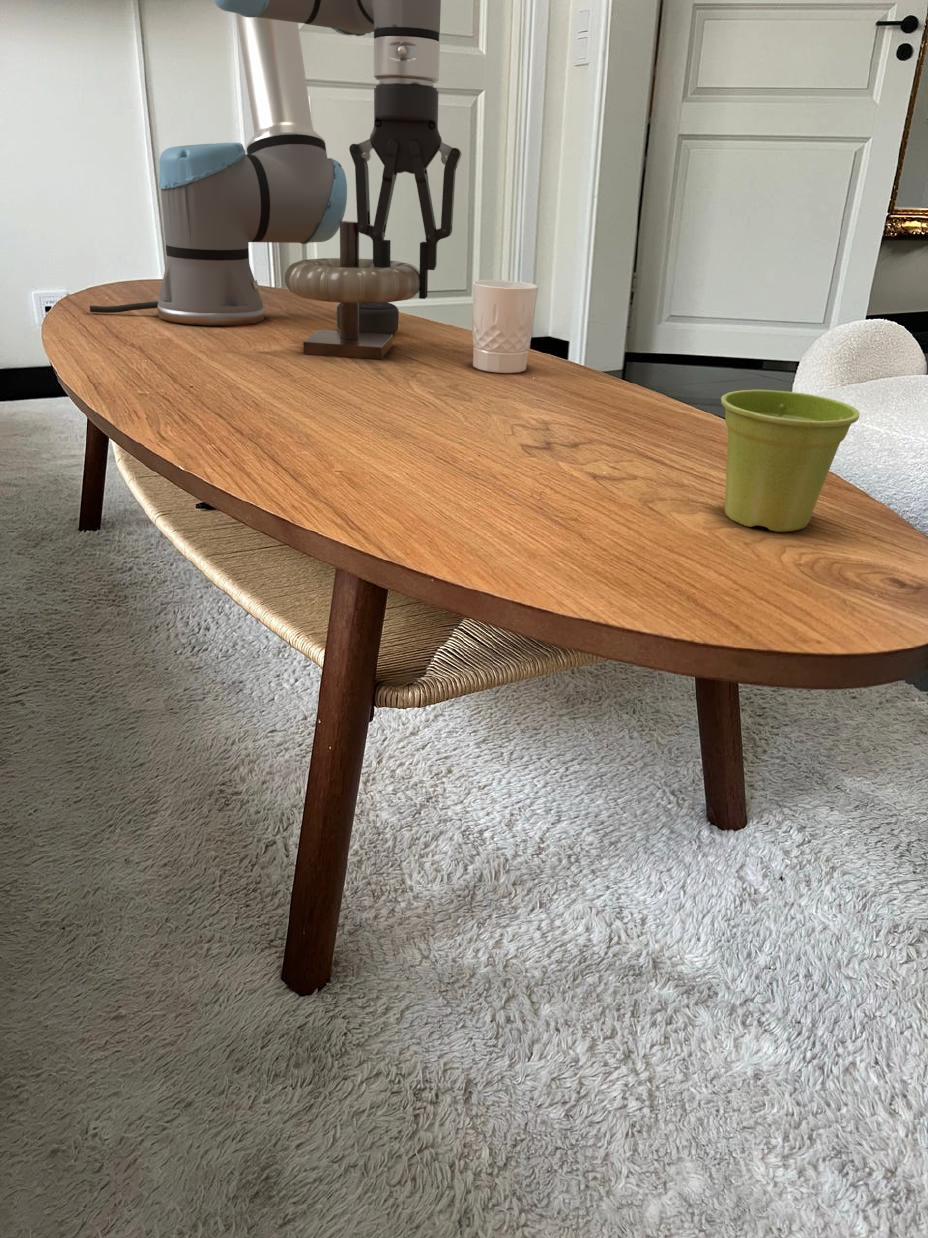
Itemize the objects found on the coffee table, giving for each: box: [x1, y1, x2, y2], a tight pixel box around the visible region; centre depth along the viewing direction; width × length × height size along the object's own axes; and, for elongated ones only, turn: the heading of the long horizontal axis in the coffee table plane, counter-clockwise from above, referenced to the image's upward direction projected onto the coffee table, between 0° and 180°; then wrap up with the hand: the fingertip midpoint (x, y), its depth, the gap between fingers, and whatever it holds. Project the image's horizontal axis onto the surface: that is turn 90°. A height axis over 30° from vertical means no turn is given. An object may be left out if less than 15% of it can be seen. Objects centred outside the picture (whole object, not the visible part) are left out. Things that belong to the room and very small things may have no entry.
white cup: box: [471, 279, 539, 374], centre depth 111 cm, size 8×8×10 cm
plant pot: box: [720, 389, 860, 533], centre depth 66 cm, size 9×9×9 cm
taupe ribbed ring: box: [284, 257, 420, 303], centre depth 115 cm, size 17×17×4 cm
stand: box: [302, 220, 394, 360], centre depth 115 cm, size 10×10×16 cm
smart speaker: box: [336, 302, 400, 335], centre depth 130 cm, size 9×9×4 cm
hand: (404, 295), depth 115 cm, fingers closed on taupe ribbed ring, 4 cm apart
